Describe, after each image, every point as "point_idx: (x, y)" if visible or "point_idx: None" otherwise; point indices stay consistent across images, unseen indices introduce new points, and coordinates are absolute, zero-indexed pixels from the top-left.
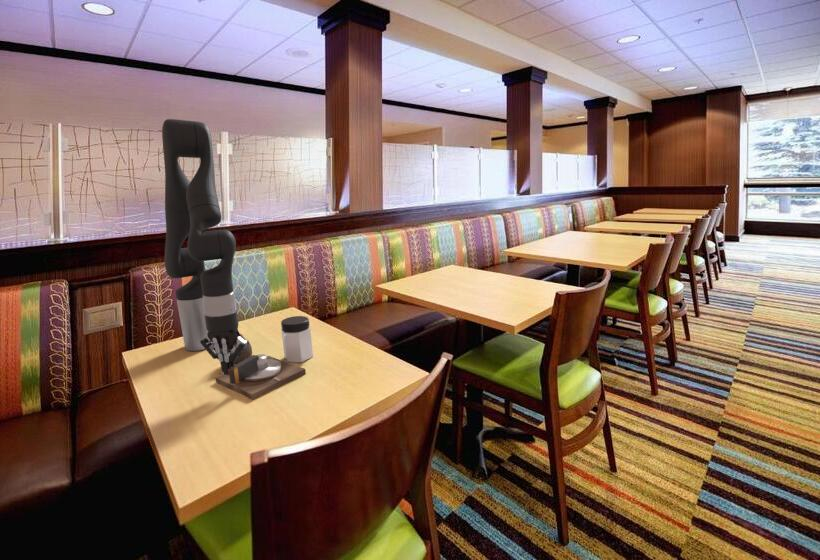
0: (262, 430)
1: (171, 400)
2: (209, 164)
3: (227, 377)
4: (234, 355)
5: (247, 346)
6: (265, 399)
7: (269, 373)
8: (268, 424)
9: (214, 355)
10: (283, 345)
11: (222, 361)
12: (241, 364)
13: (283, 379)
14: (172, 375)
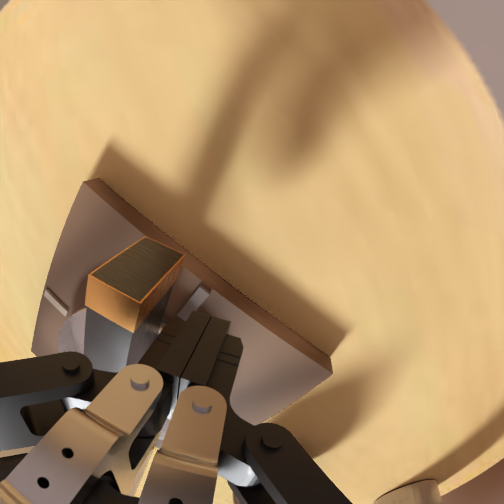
0: (44, 13)
1: (471, 221)
2: None
3: (271, 367)
4: (36, 376)
5: (236, 501)
6: (60, 182)
7: (63, 324)
8: (33, 40)
9: (267, 454)
10: (136, 476)
11: (192, 386)
12: (92, 350)
13: (42, 298)
14: (475, 394)
